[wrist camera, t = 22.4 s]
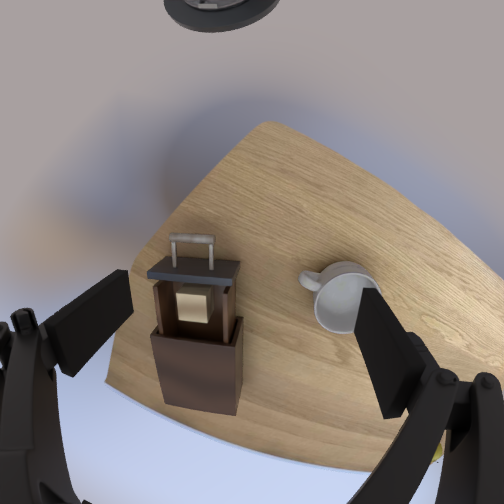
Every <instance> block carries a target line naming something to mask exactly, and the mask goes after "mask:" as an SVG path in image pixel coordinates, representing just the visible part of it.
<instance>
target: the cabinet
mask: <svg viewBox="0 0 504 504" xmlns="http://www.w3.org/2000/svg"><path fill="white" fill-rule="evenodd" d="M150 338H151V344H152V349H153V354H154V359H155V364H156V368H157V373H158V377H159V381H160V386H161V390H162V394H163V398H164V402H165V404H168V405H173V406H178V407H183V408H188V409H193V410H199V411H204V412H211V413H217V414H225V415H232V416H236V413H237V408H238V403H239V398H240V393H241V388H242V372H243V317H235V333H234V336H233V339H232V343H231V344H226V343H217V342H209V341H201V340H193V339H186V338H180V337H173V336H167V335H161V334H159V329H158V325H157V327H156V328H155V329H154V331H153V332H152V333H151V335H150Z"/></svg>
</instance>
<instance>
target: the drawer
mask: <svg viewBox="0 0 504 504" xmlns="http://www.w3.org/2000/svg"><path fill="white" fill-rule="evenodd" d="M169 240H170V242H172V257H168V256H166V257H164V258H163V259H162V260H161V261H159V262H158V263H157V264H156V265H154V266H153V267H152V268H151V269H149V270H148V271H147V278H148V279H156V280H159V281H158V282H157V283H156V284H155V285H154V286H153V292H154V300H155V308H156V315H157V322H158V329H159V334H161V335H167V336H173V337H180V338H186V339H193V340H201V341H209V342H217V343H226V344H231V343H232V339H233V336H234V333H235V293H236V276H237V274H238V271H239V269H240V261H227V260H214V244H215V240H216V237H215V235H211V234H190V233H170V235H169ZM176 242H184V243H202V244H209V259H197V258H183V257H177V248H176ZM185 282H186V283H197V284H209V285H213V290H214V311H213V313H212V315H211V317H210V319H209V321H208V323H202V322H192V321H184V320H179V316H178V307H177V298H176V293H177V291H178V290H179V289H180V288H181V287H182V285H183V284H184V283H185Z"/></svg>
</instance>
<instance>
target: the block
mask: <svg viewBox="0 0 504 504" xmlns="http://www.w3.org/2000/svg"><path fill="white" fill-rule="evenodd" d="M176 298H177V307H178V316H179V320H184V321H192V322H202V323H208V321H209V319H210V317H211V315H212V313H213V311H214V290H213V285H209V284H197V283H186V282H185V283H184V284H183V285H182V287H181V288H180V289H179V290H178V291H177V293H176Z"/></svg>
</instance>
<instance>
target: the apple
mask: <svg viewBox="0 0 504 504" xmlns="http://www.w3.org/2000/svg"><path fill="white" fill-rule="evenodd" d="M441 454H442V446H441V444H440V443H439V445H438V447H437V450H436V452H435V454H434V457H433V459H432V461H431V462H434V461H436V460H437V459H439V458H440V456H441ZM437 463H438V462H437Z"/></svg>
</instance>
